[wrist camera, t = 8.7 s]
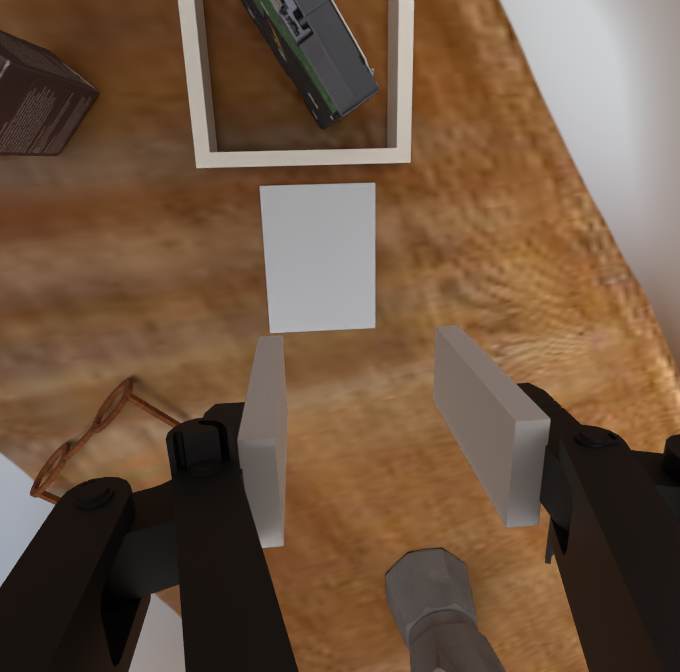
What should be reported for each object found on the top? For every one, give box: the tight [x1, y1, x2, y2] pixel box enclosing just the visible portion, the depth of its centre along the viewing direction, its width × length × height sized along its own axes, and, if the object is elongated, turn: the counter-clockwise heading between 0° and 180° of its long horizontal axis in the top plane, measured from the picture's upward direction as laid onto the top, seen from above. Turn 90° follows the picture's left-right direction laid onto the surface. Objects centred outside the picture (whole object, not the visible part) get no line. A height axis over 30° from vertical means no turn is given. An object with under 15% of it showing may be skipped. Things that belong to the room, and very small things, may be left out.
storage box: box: [178, 0, 414, 168], centre depth 35 cm, size 15×15×4 cm
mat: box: [260, 182, 375, 333], centre depth 42 cm, size 12×9×1 cm
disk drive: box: [241, 0, 380, 129], centre depth 30 cm, size 10×3×15 cm, turn 34°
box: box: [0, 30, 99, 156], centre depth 31 cm, size 6×4×12 cm
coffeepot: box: [385, 549, 506, 672], centre depth 47 cm, size 15×9×18 cm, turn 27°
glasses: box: [30, 380, 181, 505], centre depth 45 cm, size 13×13×5 cm
